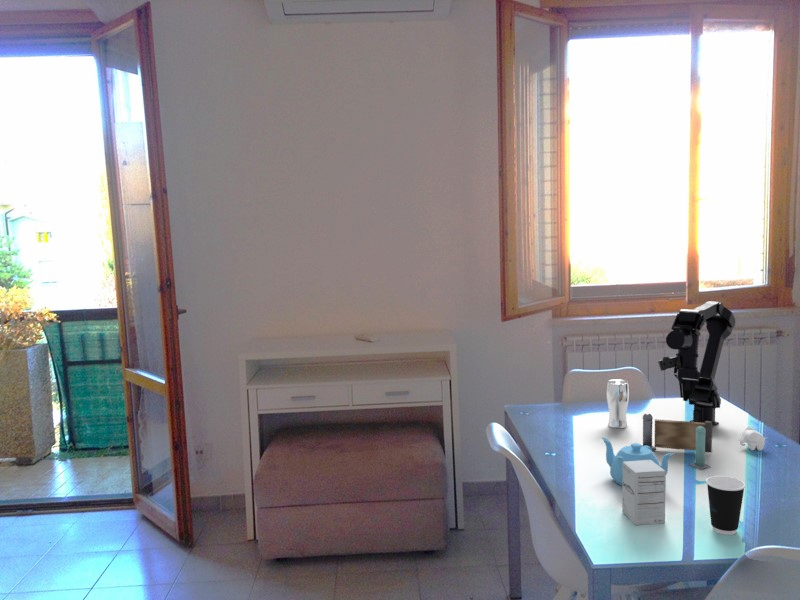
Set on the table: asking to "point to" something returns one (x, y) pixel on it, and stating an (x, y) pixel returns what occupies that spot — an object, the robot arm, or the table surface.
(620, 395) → the beer glass
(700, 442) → the post
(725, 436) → the table surface
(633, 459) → the teapot
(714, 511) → the dixie cup
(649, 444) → the hinge post
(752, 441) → the elephant figurine
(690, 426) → the gate
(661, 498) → the supplement box
